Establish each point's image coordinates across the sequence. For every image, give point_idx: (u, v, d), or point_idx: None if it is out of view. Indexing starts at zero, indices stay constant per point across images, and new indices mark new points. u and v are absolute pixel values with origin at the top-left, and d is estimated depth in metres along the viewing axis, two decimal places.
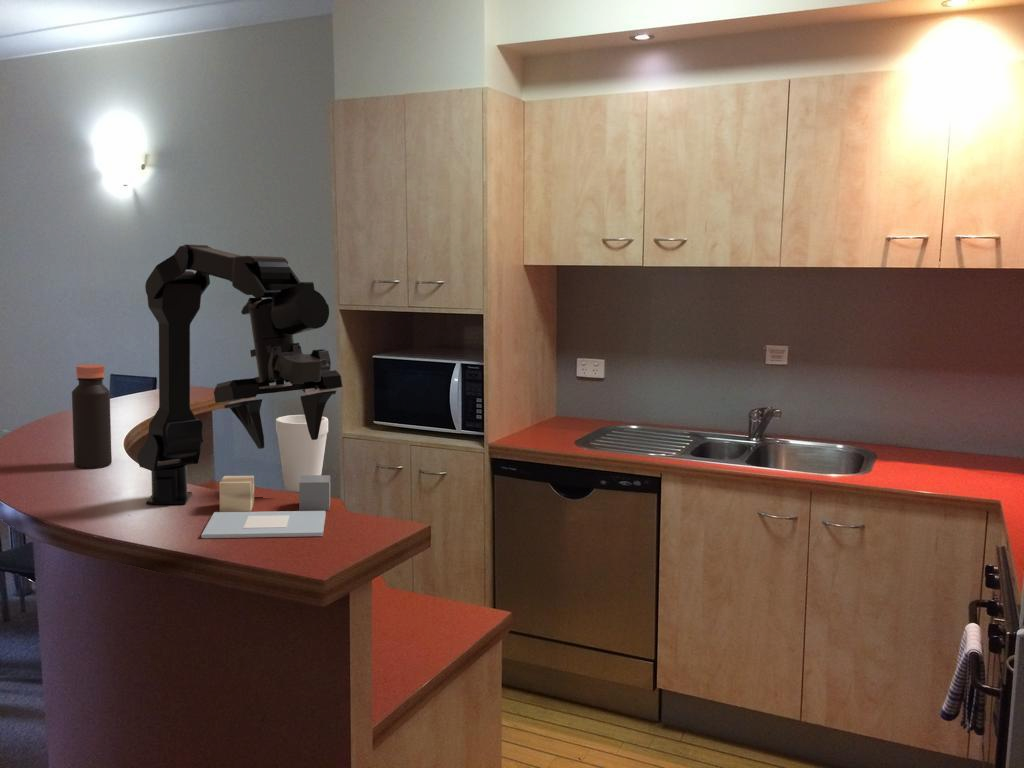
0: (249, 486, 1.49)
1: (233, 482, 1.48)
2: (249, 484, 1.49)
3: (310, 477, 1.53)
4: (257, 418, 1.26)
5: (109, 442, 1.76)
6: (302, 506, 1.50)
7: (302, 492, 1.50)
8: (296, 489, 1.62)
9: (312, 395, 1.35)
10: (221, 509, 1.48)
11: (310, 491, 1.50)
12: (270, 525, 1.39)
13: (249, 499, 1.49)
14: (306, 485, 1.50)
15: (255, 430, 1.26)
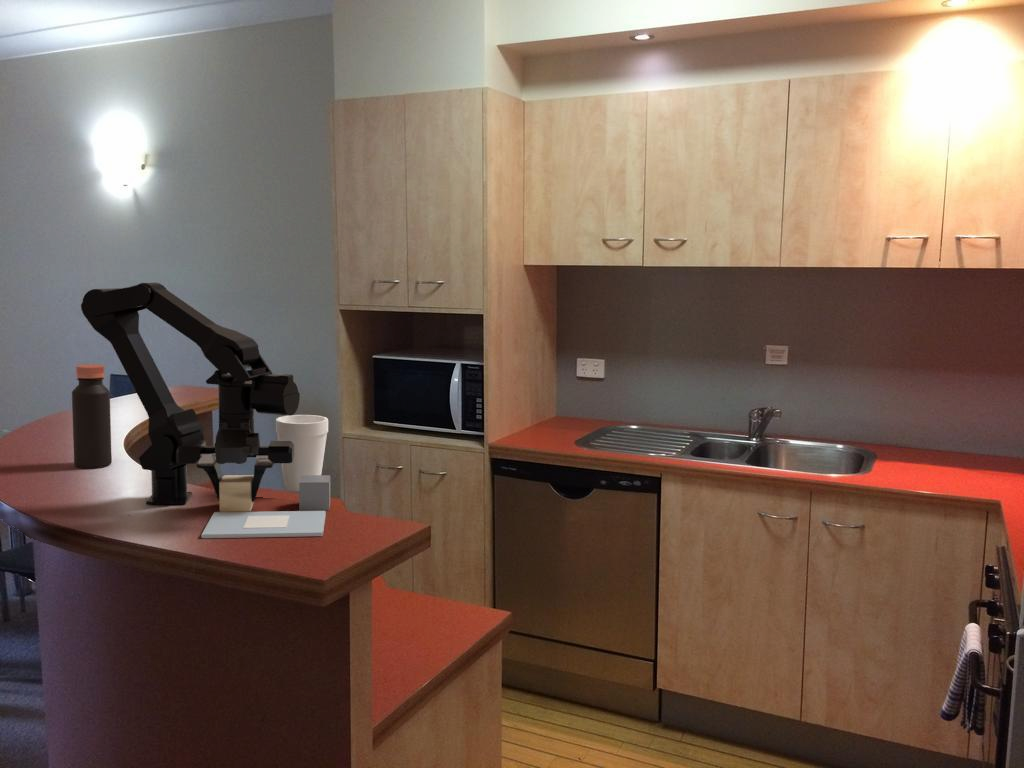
0: (249, 485, 1.49)
1: (233, 481, 1.48)
2: (249, 483, 1.49)
3: (310, 477, 1.54)
4: (214, 478, 1.49)
5: (109, 442, 1.76)
6: (302, 506, 1.50)
7: (302, 492, 1.50)
8: (296, 489, 1.62)
9: (255, 463, 1.50)
10: (221, 508, 1.48)
11: (310, 491, 1.50)
12: (270, 525, 1.39)
13: (249, 498, 1.49)
14: (306, 485, 1.50)
15: (214, 487, 1.49)
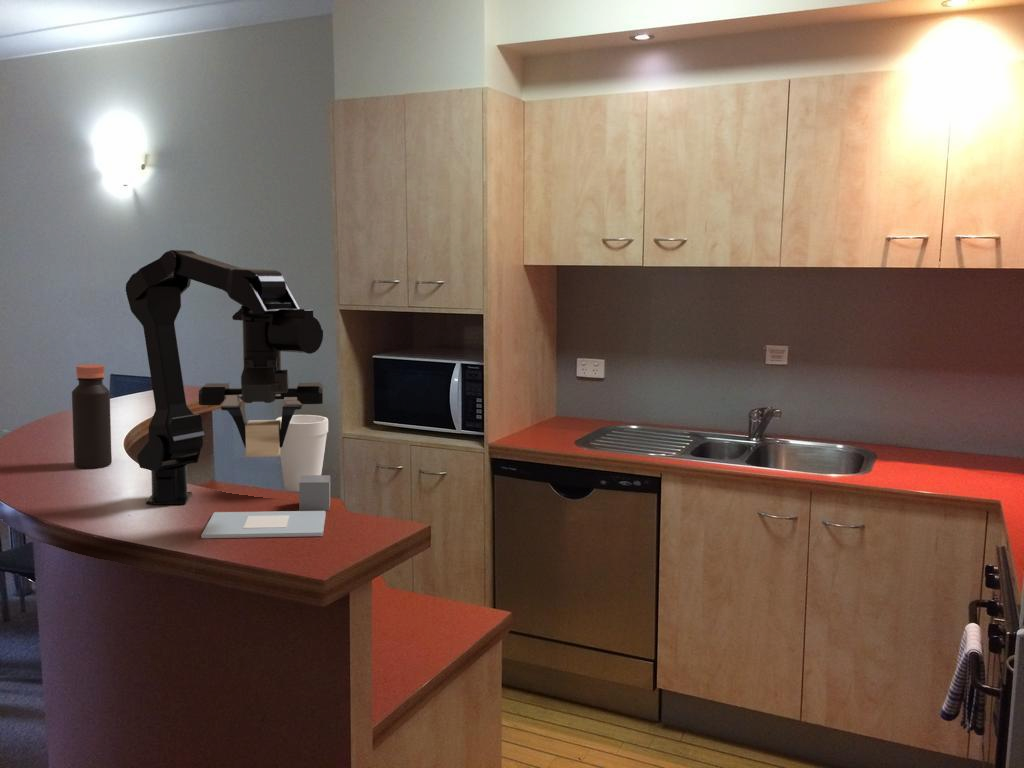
0: (277, 428, 1.39)
1: (260, 425, 1.39)
2: (277, 426, 1.39)
3: (310, 477, 1.54)
4: (240, 422, 1.39)
5: (109, 442, 1.76)
6: (302, 506, 1.50)
7: (302, 492, 1.50)
8: (296, 489, 1.62)
9: (283, 405, 1.41)
10: (247, 454, 1.39)
11: (310, 491, 1.50)
12: (270, 525, 1.39)
13: (277, 443, 1.39)
14: (306, 485, 1.50)
15: None
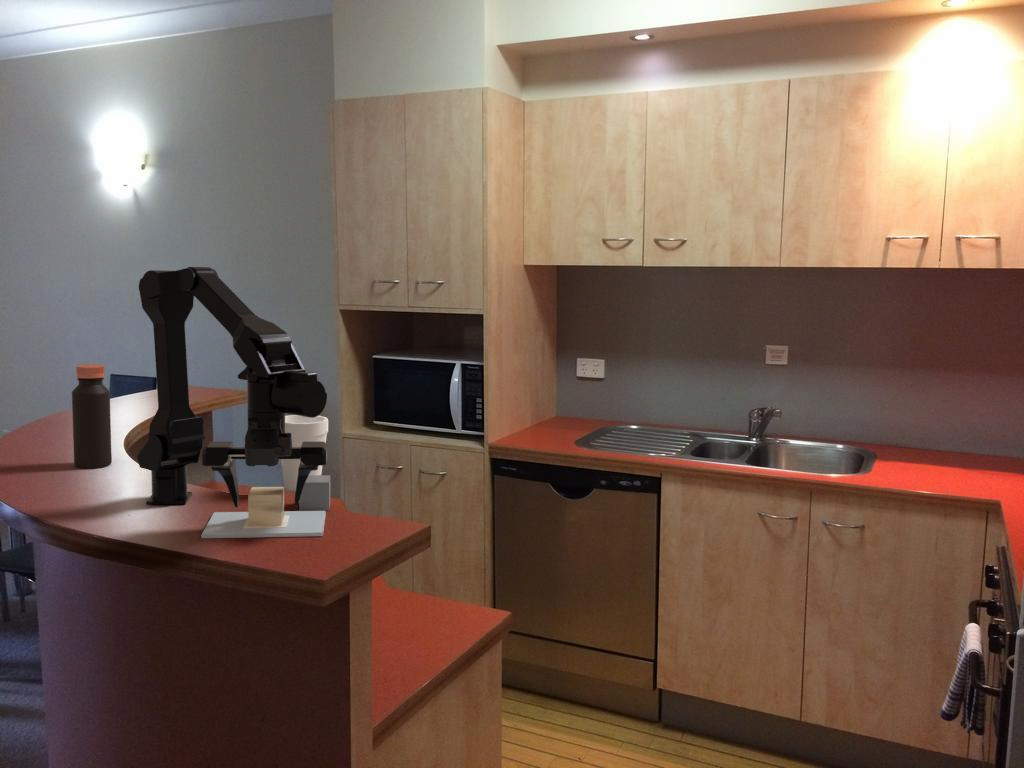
0: (280, 498, 1.39)
1: (263, 494, 1.39)
2: (280, 496, 1.39)
3: (310, 477, 1.53)
4: (230, 482, 1.38)
5: (109, 442, 1.76)
6: (302, 506, 1.50)
7: (302, 492, 1.50)
8: None
9: (299, 465, 1.41)
10: (250, 523, 1.39)
11: (310, 491, 1.50)
12: None
13: (280, 512, 1.39)
14: (306, 485, 1.50)
15: None
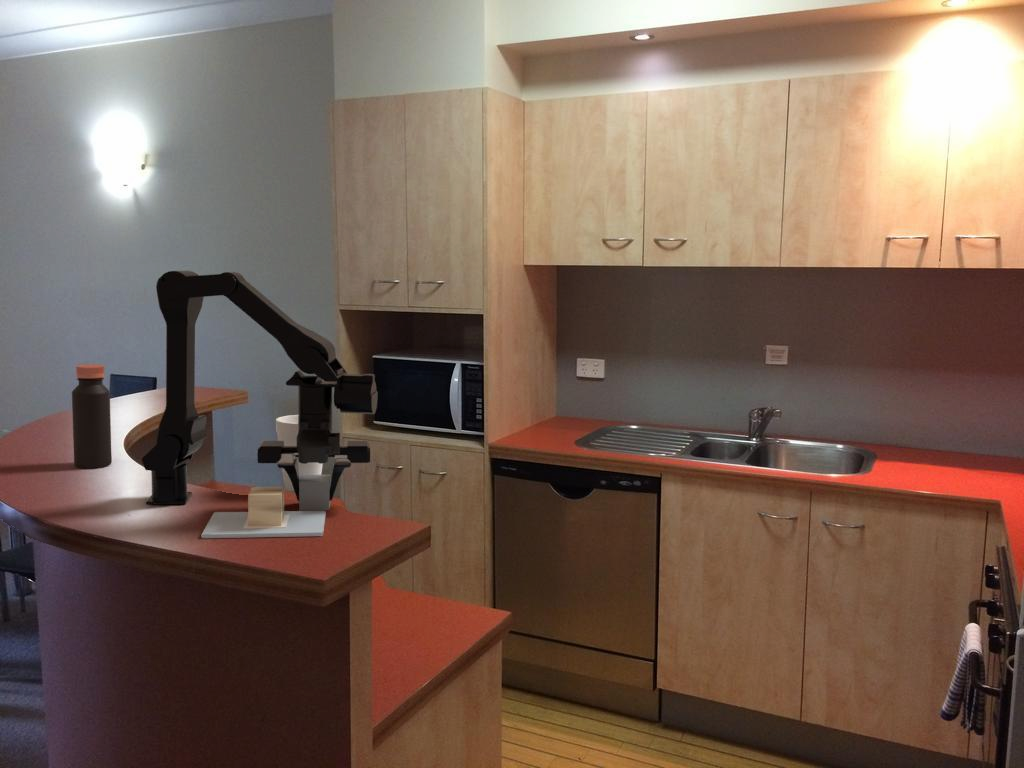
0: (280, 498, 1.39)
1: (263, 494, 1.39)
2: (280, 496, 1.39)
3: (310, 476, 1.53)
4: (294, 478, 1.51)
5: (109, 442, 1.76)
6: (302, 505, 1.50)
7: (302, 491, 1.50)
8: None
9: None
10: (250, 523, 1.39)
11: (310, 490, 1.50)
12: None
13: (280, 512, 1.39)
14: (306, 484, 1.50)
15: None
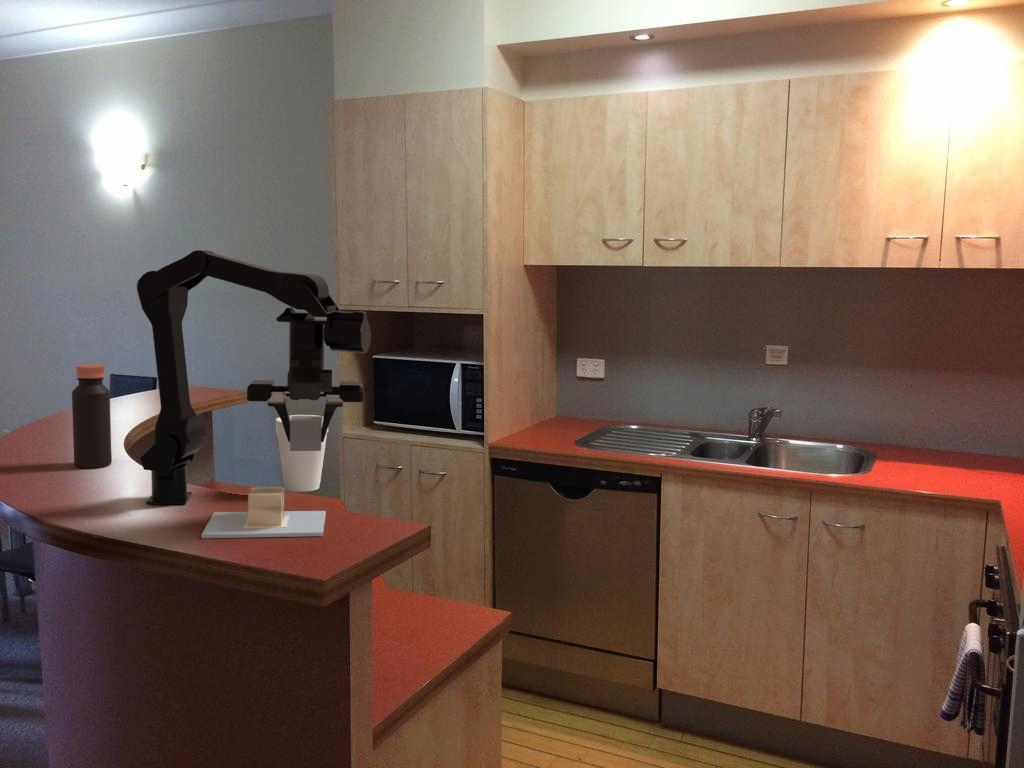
0: (280, 498, 1.39)
1: (263, 494, 1.39)
2: (280, 496, 1.39)
3: (301, 417, 1.50)
4: (284, 417, 1.47)
5: (109, 442, 1.76)
6: (293, 445, 1.47)
7: (293, 431, 1.46)
8: (296, 489, 1.62)
9: None
10: (250, 523, 1.39)
11: (302, 430, 1.47)
12: None
13: (280, 512, 1.39)
14: (297, 424, 1.46)
15: (283, 426, 1.48)
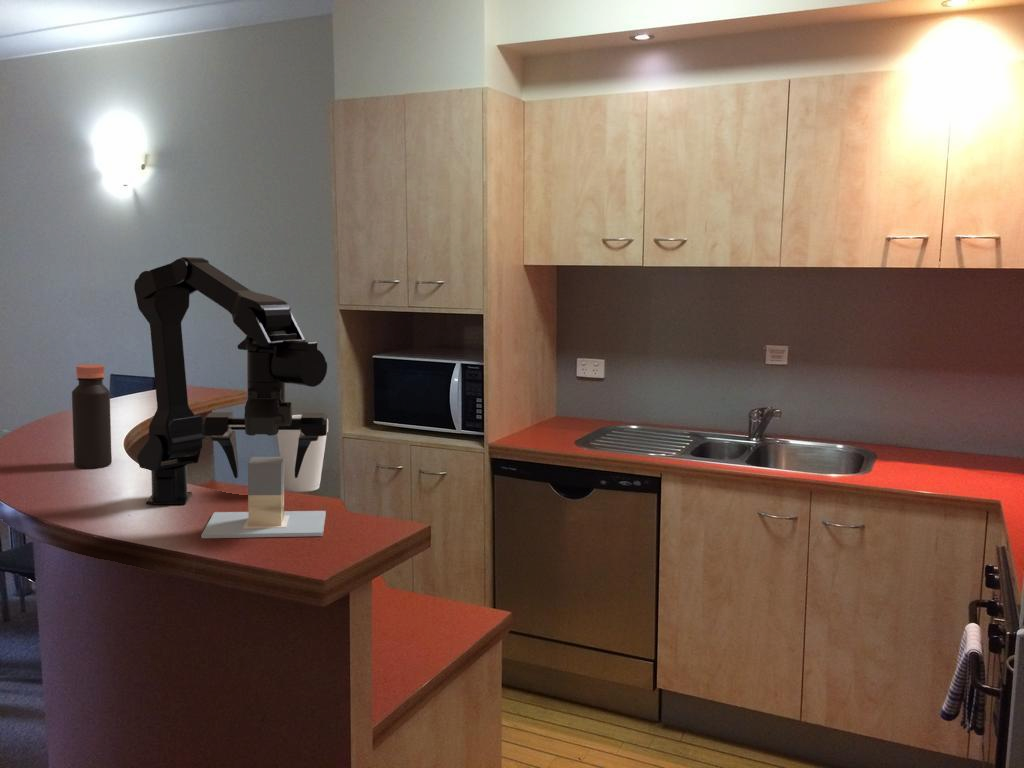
0: (280, 498, 1.39)
1: None
2: (280, 496, 1.39)
3: (261, 458, 1.41)
4: (230, 452, 1.38)
5: (109, 442, 1.76)
6: (251, 489, 1.38)
7: (252, 474, 1.37)
8: (296, 489, 1.62)
9: None
10: (250, 523, 1.39)
11: (260, 473, 1.38)
12: None
13: (280, 512, 1.39)
14: (255, 466, 1.37)
15: None
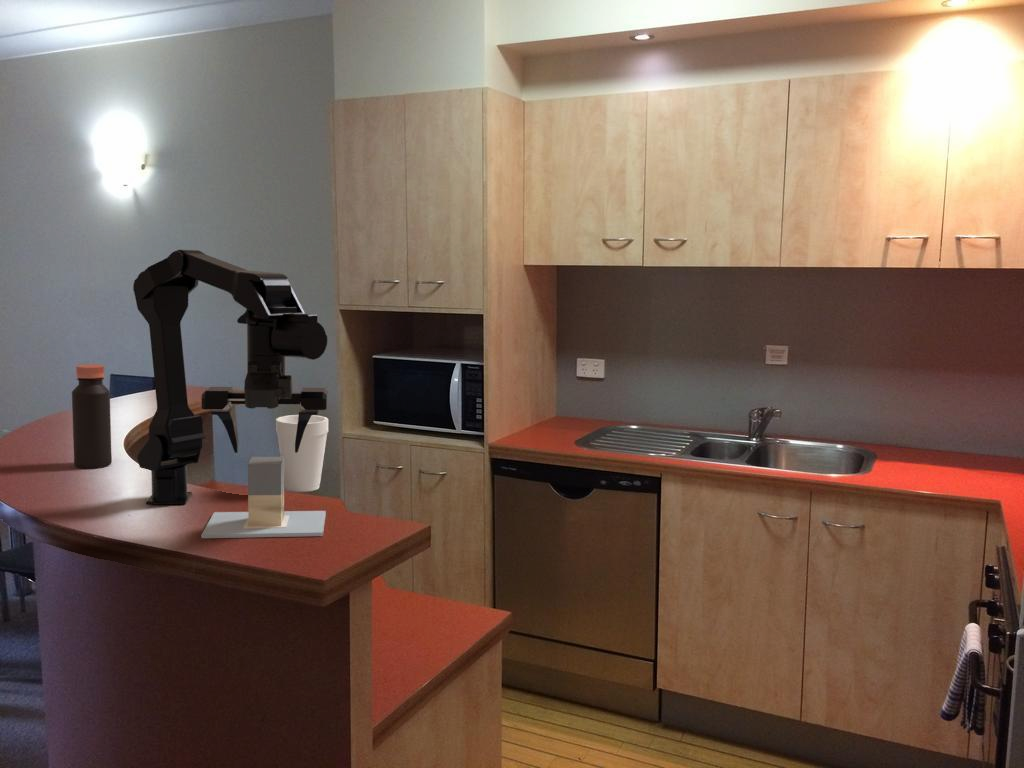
0: (280, 498, 1.39)
1: None
2: (280, 496, 1.39)
3: (261, 458, 1.41)
4: (230, 427, 1.37)
5: (109, 442, 1.76)
6: (251, 489, 1.38)
7: (252, 474, 1.37)
8: (296, 489, 1.62)
9: None
10: (250, 523, 1.39)
11: (260, 473, 1.38)
12: None
13: (280, 512, 1.39)
14: (255, 466, 1.37)
15: None
